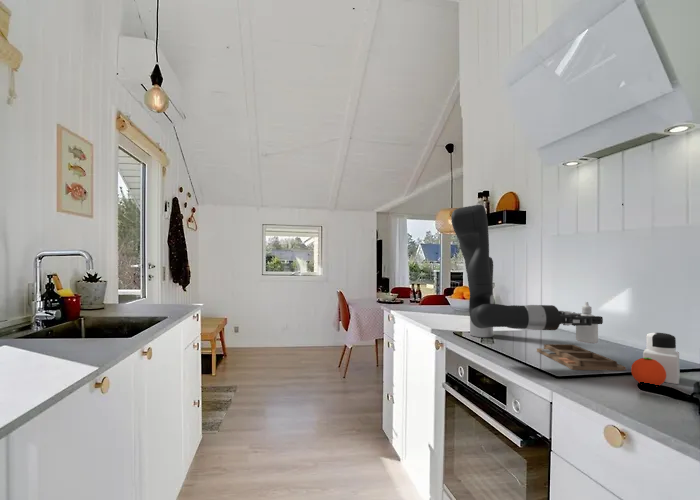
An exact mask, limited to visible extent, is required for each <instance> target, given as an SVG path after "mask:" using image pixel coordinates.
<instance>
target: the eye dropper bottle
mask: <svg viewBox="0 0 700 500" xmlns="http://www.w3.org/2000/svg"><path fill="white" fill-rule="evenodd" d="M581 313H582V314H580V315H583V316H587V315H588V316H595V315H594V314H592V306H590V305H589V302H588V301H585V302H584V305H582V306H581ZM576 317H577V316H576ZM575 340H576V341H577V342H580V343H581V342H582V343H585V344H586V343H587V344H598V343H599V324H592V325H591V326H575Z"/></svg>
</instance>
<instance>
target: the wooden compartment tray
mask: <svg viewBox="0 0 700 500" xmlns="http://www.w3.org/2000/svg"><path fill="white" fill-rule="evenodd" d="M536 352H537V353H540V354H541V355H543V356H545V357H547V358H549V359H550V360H553V361H555V362H556V363H559V364H561V365H563V366H564V367H566V368H569V369H571V370H572V371H574V370H575V371H624V370H626V371H627V367H626V366H625V365H622V364H619V363H618V362H617V361H616V360H614V359H611V358H608V357H606V356H603V355H602V354H598V353H596V352H594V351H591V350H588V349H587V348H584V347H581V346H578V345H575V344H565V343H563V344H562V343H561V344H557V343H556V344H554V343H552V344H550V343H548V344H547V343H544V344H543V348H540V347H539V348H536Z"/></svg>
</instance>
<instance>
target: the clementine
mask: <svg viewBox="0 0 700 500" xmlns="http://www.w3.org/2000/svg"><path fill="white" fill-rule="evenodd" d="M630 371H631V375H632V378H633V379H635V381H636V382H638V383H639V384H640V382H644V383H650V384H655V385H659V386H661V385H663V384H664V383H665V382H664V381H665V379H666V371H665V369H664V367H663V366H662V365H661V364H660V363H659V362H657V361H656V360H653V359H651V358H645V357H644V358H643V357H642V358H639V359H637V360H635V361H634V362H633V363H632V364H631V369H630Z"/></svg>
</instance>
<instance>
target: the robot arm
mask: <svg viewBox="0 0 700 500" xmlns="http://www.w3.org/2000/svg"><path fill="white" fill-rule="evenodd" d="M451 224H452V228H453V231H454V233H455V235H456V237H457V239H458V242H459V246H460V247H459V248H460V251H461V254H462V256H463V260H464V264H465V271H466V276H467V284H468V291H469V299H468V300H469V303H468V304H469V305H468V306H469V307H468V309H469V311H468V312H469V334H470V336H473V337H476V338H477V337H478V338H493V337H494V328H508V329H518V330H520V329H522V330H532V331H556V330H558V329H559V327H560V325H563V326H573V327H576V326H591V325H592V324H598V325H602V324H603V323H604V319H603V316H600V315H599V316H598V315H597V316H596V315H594V316H588V315H587V316H583V315H580V314H582V312H580V313H579V312H577V313H576V312H572V311H570V310H569V311H566V310H559V309H558V308H557V307H556V306H555V305H549V304H547V305H546V304H527V305H517V304H516V305H505V304H498V303H494V290H493V287H494V286H493V284H494V282H493V281H494V280H493V279H494V260H493V258H492V257H491V256H490V240H489V221H488V216H487V211H486V208H485V207H484V205H482V204H475V205H469V206H462V207H458V208H456V209H454V210H453V211H452V213H451ZM576 316H577V317H576Z"/></svg>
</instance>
